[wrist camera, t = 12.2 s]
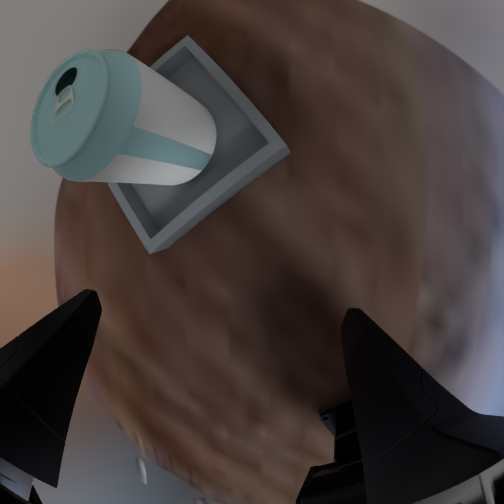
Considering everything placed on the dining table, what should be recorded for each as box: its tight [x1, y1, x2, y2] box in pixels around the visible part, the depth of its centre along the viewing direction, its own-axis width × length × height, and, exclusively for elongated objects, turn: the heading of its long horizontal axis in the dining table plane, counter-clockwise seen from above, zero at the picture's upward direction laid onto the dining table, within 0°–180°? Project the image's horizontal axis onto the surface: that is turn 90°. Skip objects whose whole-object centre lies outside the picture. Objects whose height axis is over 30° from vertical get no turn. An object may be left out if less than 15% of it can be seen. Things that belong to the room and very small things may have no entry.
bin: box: [107, 35, 291, 254], centre depth 20 cm, size 13×13×3 cm
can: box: [31, 49, 216, 185], centre depth 15 cm, size 7×7×12 cm
